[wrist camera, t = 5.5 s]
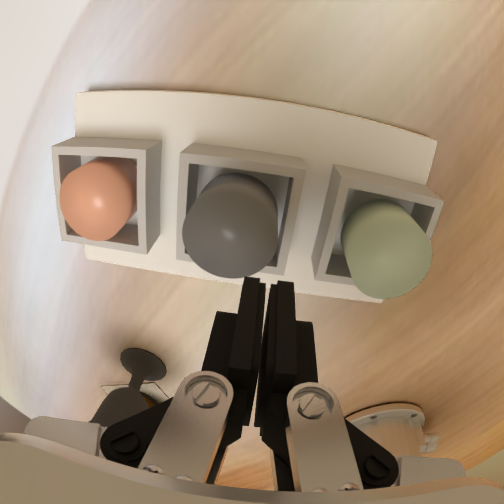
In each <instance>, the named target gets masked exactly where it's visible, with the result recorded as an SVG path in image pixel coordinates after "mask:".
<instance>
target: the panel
mask: <svg viewBox="0 0 504 504" xmlns="http://www.w3.org/2000/svg"><path fill="white" fill-rule="evenodd" d="M437 143H438V141H436V140H434V139H432V138H429V137H427V136H424V135H421V134H418V133H415V132H412V131H408V130H405V129H402V128H398V127H395V126H392V125H388V124H384V123H381V122H377V121H373V120H369V119H366V118H362V117H358V116H353V115H349V114H345V113H340V112H336V111H331V110H327V109H322V108H317V107H312V106H306V105H301V104H295V103H289V102H283V101H277V100H270V99H263V98H256V97H248V96H239V95H230V94H220V93H208V92H194V91H175V90H100V91H86V92H79V93H76V107H75V137H73V138H71V139H68V140H66V141H63V142H61V143H59V144H56V145H54V146H52V160H53V174H54V185H55V194H56V203H57V211H58V218H59V225H60V232H61V238H62V241H68V242H74V243H80V244H84V247H85V254H86V259H91V260H96V261H102V262H107V263H113V264H118V265H124V266H129V267H135V268H140V269H146V270H152V271H158V272H164V273H170V274H176V275H182V276H188V277H194V278H200V279H206V280H213V281H219V282H226V283H232V284H239V285H243V281H244V278H237V279H230V278H223V277H218V276H215V275H212V274H210V273H208V272H206V271H205V270H203V269H202V268H200V267H199V266H198V265H197V264H196V263H195V262H194V261H193V260H192V259H191V258H190V256H189V255H188V253H187V251H186V249H185V246H184V243H183V238H182V228H183V223H184V220H185V217H186V215H187V213H188V212H189V210H190V209H191V207H192V205H193V204H194V202H195V201H196V199H197V197H198V196H199V194H200V193H201V191H202V190H203V188H204V187H205V186H206V185H207V184H208V183H209V182H210V181H211V180H213V179H214V178H216V177H219V176H221V175H224V174H229V173H242V174H247V175H250V176H253V177H255V178H257V179H258V180H260V181H261V182H263V183H264V184H265V185H266V186H267V187H268V188H269V189H270V191H271V192H272V193H273V195H274V197H275V200H276V203H277V207H278V244H277V249H276V252H275V254H274V256H273V258H272V260H271V261H270V262H269V263H268V265H267V266H265V267H264V268H263V269H262V270H260V271H259V272H257V273H255V274H253V275H251V276H248V277H255V278H260V282H261V283H266V289H270V286H271V284H277V281H278V280H280V281H289V282H294V292H295V293H302V294H310V295H317V296H325V297H333V298H341V299H349V300H357V301H366V302H374V303H382V302H383V300H384V299H376V298H372V297H369V296H367V295H365V294H364V293H362V292H361V291H360V290H359V289H358V288H357V287H356V286H355V284H354V282H353V279H352V277H351V274H350V270H349V267H348V264H347V261H346V258H345V255H344V252H343V250H342V246H341V240H340V237H341V230H342V227H343V224H344V222H345V220H346V219H347V217H348V216H349V214H350V213H351V212H352V211H353V210H354V209H355V208H357V207H358V206H360V205H361V204H363V203H365V202H368V201H371V200H376V199H386V200H391V201H394V202H396V203H398V204H399V205H401V206H402V207H403V208H404V209H405V210H406V211H407V212H408V213H409V215H410V216H411V217H412V218H413V219H414V220H415V222H416V223H417V224H418V225H419V226H420V228H421V229H422V230H423V231H424V233H425V234H426V235H427V237H428V238H429V240H431V238H432V235H433V232H434V230H435V227H436V224H437V222H438V219H439V216H440V213H441V210H442V208H443V205H444V202H445V201H444V200H443V199H442V198H440V197H439V196H438V195H437V194H436V193H435V192H434V191H432V190H431V189H430V188H429V187H428V186H426V183H427V180H428V176H429V173H430V169H431V166H432V162H433V158H434V155H435V151H436V147H437ZM99 156H104V157H121V158H128V159H129V160H130V161H132V162H133V163H134V164H135V165H136V167H137V212H136V213H135V214H134V215H133V216H132V217H131V218H130V219H129V220H128V221H127V223H126V224H125V225H124V226H123V227H122V228H121V229H120V230H119V231H118V232H117V234H116V235H114V236H113V237H111V238H110V239H107V240H104V241H93V240H89V239H86V238H84V237H82V236H81V235H79V234H78V233H76V232H75V231H74V230H73V229H72V228H71V227H70V226H69V224H68V223H67V221H66V220H65V218H64V216H63V213H62V211H61V207H60V201H59V193H60V188H61V185H62V183H63V180H64V179H65V177H66V176H67V175H68V174H69V173H70V172H72V171H73V170H75V169H77V168H79V167H80V166H82V165H84V164H86V163H88V162H89V161H91V160H93V159H95V158H97V157H99Z"/></svg>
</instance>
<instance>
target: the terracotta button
mask: <svg viewBox="0 0 504 504" xmlns="http://www.w3.org/2000/svg"><path fill="white" fill-rule="evenodd" d="M59 201H60V207H61V211H62V213H63V216H64V218H65V220H66V221H67V223H68V224H69V226H70V227H71V228H72V229H73V230H74V231H75V232H76V233H78V234H79V235H81V236H82V237H84V238H86V239H89V240H93V241H104V240H107V239H110V238H111V237H113V236H114V235H116V234H117V232H118V231H119V230H120V229H121V228H122V227H123V226H124V225H125V224H126V223H127V221H128V220H129V219H130V218H131V217H132V216H133V215H134V214H135V213H136V212H137V167H136V165H135V164H134V163H133V162H132V161H130V160H129V159H128V158H121V157H104V156H99V157H97V158H95V159H93V160H91V161H89V162H88V163H86V164H84V165H82V166H80V167H79V168H77V169H75V170H73V171H72V172H70V173H69V174H68V175H67V176H66V177H65V179H64V180H63V183H62V185H61V188H60V193H59Z"/></svg>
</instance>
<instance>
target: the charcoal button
mask: <svg viewBox="0 0 504 504" xmlns="http://www.w3.org/2000/svg"><path fill="white" fill-rule="evenodd" d="M182 238H183V243H184V246H185V249H186V251H187V253H188V255H189V256H190V258H191V259H192V260H193V261H194V262H195V263H196V264H197V265H198V266H199V267H200V268H202V269H203V270H205V271H206V272H208V273H210V274H212V275H215V276H218V277H223V278H230V279H237V278H244V276H247V277H248V276H251V275H253V274H255V273H257V272H259V271H260V270H262V269H263V268H264V267H265V266H267V265H268V263H269V262H270V261H271V260H272V258H273V256H274V254H275V252H276V249H277V244H278V207H277V203H276V200H275V197H274V195H273V193H272V192H271V191H270V189H269V188H268V187H267V186H266V185H265V184H264V183H263V182H261V181H260V180H258V179H257V178H255V177H253V176H250V175H247V174H242V173H229V174H224V175H221V176H219V177H216V178H214V179H213V180H211V181H210V182H209V183H208V184H207V185H206V186H205V187H204V188H203V190H202V191H201V193H200V194H199V196H198V197H197V199H196V201H195V202H194V204H193V205H192V207H191V209H190V210H189V212H188V213H187V215H186V217H185V220H184V223H183V228H182Z"/></svg>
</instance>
